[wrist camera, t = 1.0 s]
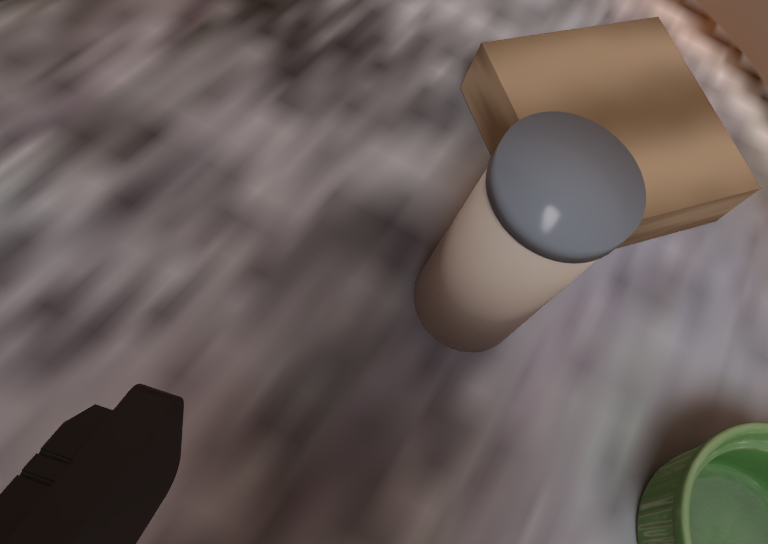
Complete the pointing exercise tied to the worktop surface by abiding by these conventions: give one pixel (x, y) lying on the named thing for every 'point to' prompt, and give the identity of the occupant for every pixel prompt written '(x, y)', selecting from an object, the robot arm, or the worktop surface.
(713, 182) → the base block
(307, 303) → the worktop surface
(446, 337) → the canister
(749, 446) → the ramekin
